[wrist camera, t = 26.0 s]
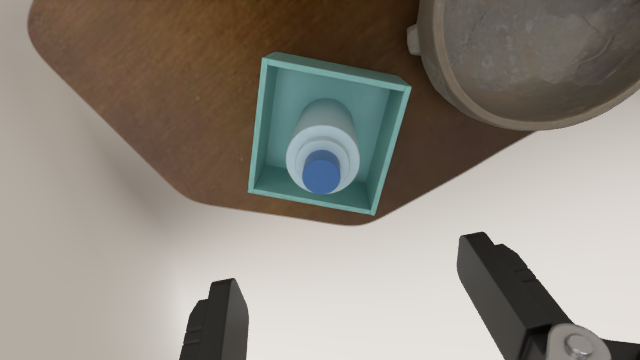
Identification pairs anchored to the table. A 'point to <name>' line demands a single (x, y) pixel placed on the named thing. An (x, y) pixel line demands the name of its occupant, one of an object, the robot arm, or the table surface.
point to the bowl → (530, 58)
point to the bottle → (323, 148)
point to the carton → (286, 107)
